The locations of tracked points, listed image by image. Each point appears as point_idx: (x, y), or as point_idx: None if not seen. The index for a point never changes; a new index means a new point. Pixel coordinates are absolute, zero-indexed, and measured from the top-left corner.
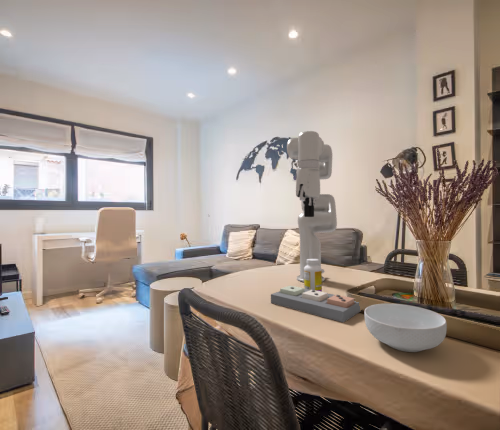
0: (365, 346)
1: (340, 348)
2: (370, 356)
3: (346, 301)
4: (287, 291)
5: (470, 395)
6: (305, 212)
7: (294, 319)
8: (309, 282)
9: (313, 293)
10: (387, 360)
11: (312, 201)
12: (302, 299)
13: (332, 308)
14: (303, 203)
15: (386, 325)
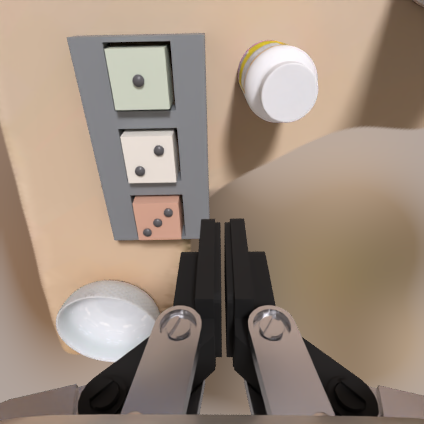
0: (71, 276)
1: (37, 260)
2: (53, 287)
3: (148, 237)
4: (111, 81)
5: (68, 346)
6: (181, 263)
7: (51, 160)
8: (240, 83)
9: (143, 160)
10: (62, 299)
11: (254, 412)
12: (109, 144)
13: (113, 220)
14: (150, 339)
15: (57, 327)
